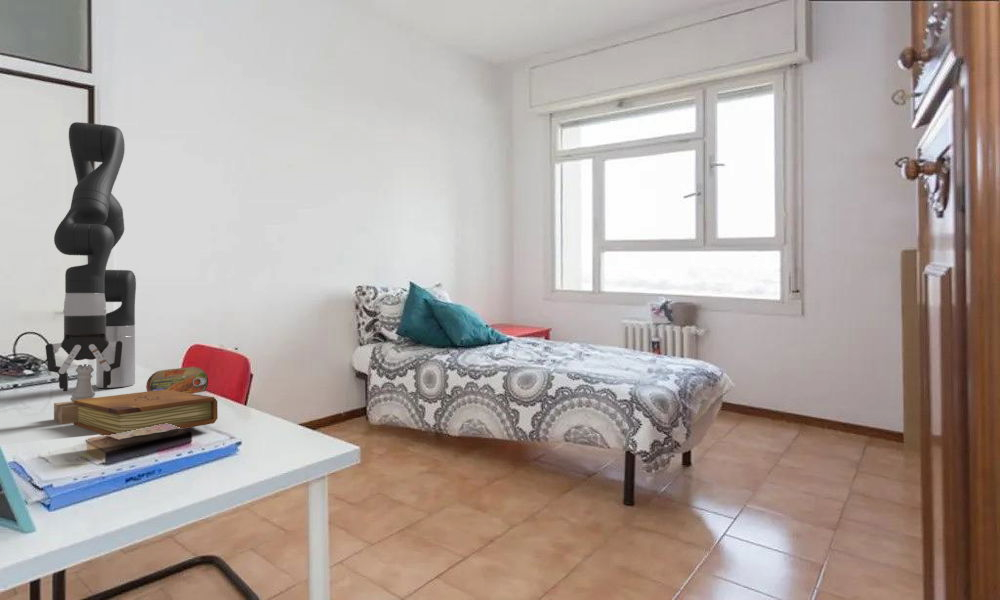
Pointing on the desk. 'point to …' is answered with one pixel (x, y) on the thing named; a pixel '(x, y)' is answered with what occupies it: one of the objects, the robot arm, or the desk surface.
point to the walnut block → (65, 412)
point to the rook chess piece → (83, 383)
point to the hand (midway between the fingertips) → (85, 389)
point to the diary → (145, 411)
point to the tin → (179, 380)
